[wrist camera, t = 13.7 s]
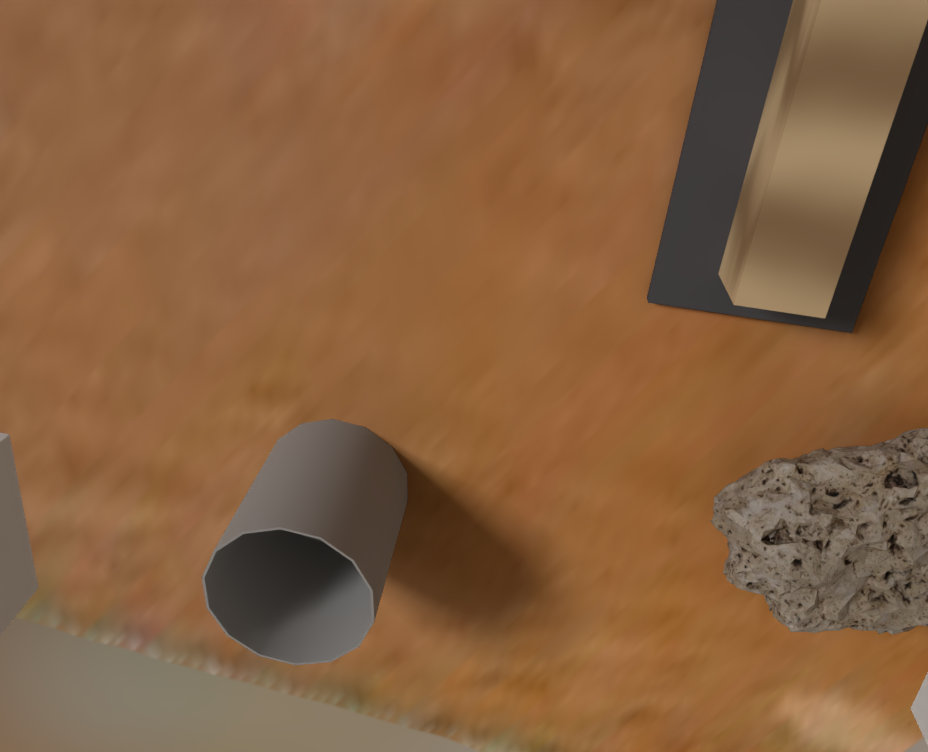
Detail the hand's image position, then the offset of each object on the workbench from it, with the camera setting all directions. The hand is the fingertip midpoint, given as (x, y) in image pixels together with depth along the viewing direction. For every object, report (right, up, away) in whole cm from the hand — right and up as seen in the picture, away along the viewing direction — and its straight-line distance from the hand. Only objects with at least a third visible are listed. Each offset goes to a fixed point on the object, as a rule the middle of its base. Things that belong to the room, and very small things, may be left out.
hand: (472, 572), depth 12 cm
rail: (+15, +16, +24) cm, 33 cm away
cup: (-7, -3, +37) cm, 38 cm away
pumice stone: (+20, -3, +34) cm, 40 cm away
